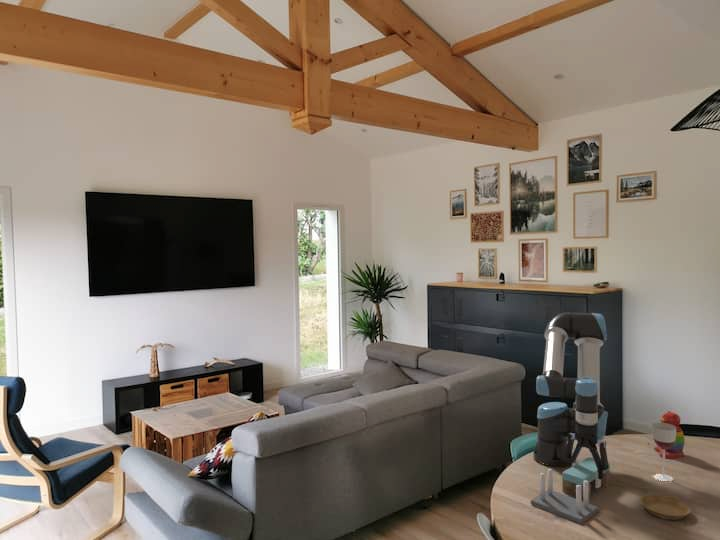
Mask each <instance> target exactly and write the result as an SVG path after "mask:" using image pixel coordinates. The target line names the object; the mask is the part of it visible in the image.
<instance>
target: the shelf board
mask: <svg viewBox="0 0 720 540" xmlns="http://www.w3.org/2000/svg"><path fill="white" fill-rule="evenodd" d="M608 465H609V468H608V469H607V470H605V471H604V470H603V474H604V473H606V472H607V471H610V467H611V466H610V463H609V462H608ZM596 469H597V466H596V464H595V461H594V459H593V457H587V458H585V459H584V460H581V461H580V462H578V464H576V465H574V466H573V467H571V468H570V467H569V468H566V469H565V470H564V471H562V472H561V473H562V478H561V479H562V480H563V479H564V480H567V481H570V482H573V483H576V484H579V485H581V486H584V480H587V481H589V483H592V482H591V481H593V480H595V470H596Z"/></svg>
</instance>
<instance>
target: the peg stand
mask: <svg viewBox="0 0 720 540" xmlns="http://www.w3.org/2000/svg"><path fill="white" fill-rule="evenodd" d="M553 472H554V470H553V468H548V469H547V490H546V473H544V472H540V474H539V479H540V481H539V482H540V483H539V484H540V486H539V487H540V488H539V490H540V491H539V492H540V493H539V494H538V495H537V496H535V497H534V498H532V499H531V500H530V505H531V504H533V505H532V506H534V505H535V507H536V506H538V507H537V508H539V507H540V509H542V510H545V511H547V512H550V513H551V514H554V515H557V516H560V517H562V518H565V519H567V520H570V521H573V522H575V523H578V524H580V525H581V524H583V523H584V522H586V521H587V520H589V518H590V519H591V517H592V516H594V515H595V514H597V513H598V512H599V506H596V505H594V504H591V503H589V502H590V501H589V499H590V498H589V481H587V480H584V492H583V498H581V485H576V496H575V498H574V497H571V496H569V495H566V494H564V493H560V492H557V491H555V490H554V489H553V488H554V487H553V485H554V484H553V482H554V480H553V479H554V478H553ZM582 499H583V501H582Z"/></svg>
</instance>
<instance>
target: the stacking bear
mask: <svg viewBox="0 0 720 540" xmlns="http://www.w3.org/2000/svg"><path fill="white" fill-rule="evenodd" d="M660 423H667V424H671V425H674V426H675V427H676V439H675V442H674V445H673V446H672V447H670V448H667V449H665V459H671V460H672V458H674V459H681V458H683V457H684V456H685V455H684V447H685V442H686V441H685V435H684V432H683V429H682V427H680V425H681V417H680V416H679V415H678V414H677V413H675V412H672V411H669V410H668V411H667V412H665V413H664V414H663V415H662V416H661V417H660ZM654 451H655V452H657V453H659V456H660V457H661V458H663V449H662V448H661V447H659V446H658V445H656V446H654Z"/></svg>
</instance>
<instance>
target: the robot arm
mask: <svg viewBox="0 0 720 540" xmlns="http://www.w3.org/2000/svg"><path fill="white" fill-rule="evenodd" d="M606 324H607V323H606V321H605V316H604V315H603V314H602V313H596V312H595V313H594V312H570V311H569V312H568V311H567V312H562V313H560V314H558V315H556V316H554V317H553V318H552V319H551V320H550V321H549V322H548V323H547V325H546V327H545V329H544V339H545V340H546V341H545V348H544V349H545V350H544V359H543V371H542V374H541V375H537V377H536V381H535V383H536V384H535V386H536V387H535V388H536V389H535V390H536V393H537V395H540V396H546V397H557V398H558V397H559V398H567V399H568V398H569V399H570V398H571V399H575V401H574V403H573V407H568V404H567V403H565V402H560V401H551V402H545V403H542V404H541V405H539V406H538V408H537V415H536V418H537V440H536V443H535V446H534V449H533V455H532V456H533V457H534V458H533V460H534V459H535V460H536V461H535V460H534V461H535V462H537V461H538V462H537V463H539V462H541V463H544V464H548V465H554V466H553V467H565V466H564V465H566V466H569V465H570V467H569V468H571V467H573V466H574V465H576V464H578V463H579V461H577V458H578V456H579V454H580V452H581V450H582V448H586V449H587V450H589V452H590V453H591V456H592V458H593V459H594V461H595V464H596V466H597V469H596V470H595V483H594V484H595V485H594V487H595V489H599V488H601V487H602V485H601V479H603V470H604V471H605V470H607V469H608V468H609V465H608V463H609V459H608V453H607V448H606V447H607V441H605V440H604V439H605V436H606V430H607V424H608V422H607V420H608V416H609V415H608V414H609V413H608V411H606V410H605V407H604V405H603V404H602V403H601V400H600V398H601V394H600V392H601V390H600V388H601V383H600V377H601V375H600V373H601V369H600V366H601V364H600V363H601V362H600V350H601V347H602V346H603V345H604V342H605V341H607V340H608V335H607V334H608V333H607V325H606ZM567 340H573V341H574V344H575V345H576V346H577V377H576V378H574V377H563V375H564V364H565V361H564V360H565V349H566V348H565V346H566V342H567ZM575 440H576V442H577V443H576V445H575V448H574V443H575ZM597 445H598V447H597ZM573 449H574V450H573ZM598 449H599V450H598ZM541 463H540V464H541ZM544 464H543V465H544ZM568 464H569V465H568ZM548 465H547V466H548Z"/></svg>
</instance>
